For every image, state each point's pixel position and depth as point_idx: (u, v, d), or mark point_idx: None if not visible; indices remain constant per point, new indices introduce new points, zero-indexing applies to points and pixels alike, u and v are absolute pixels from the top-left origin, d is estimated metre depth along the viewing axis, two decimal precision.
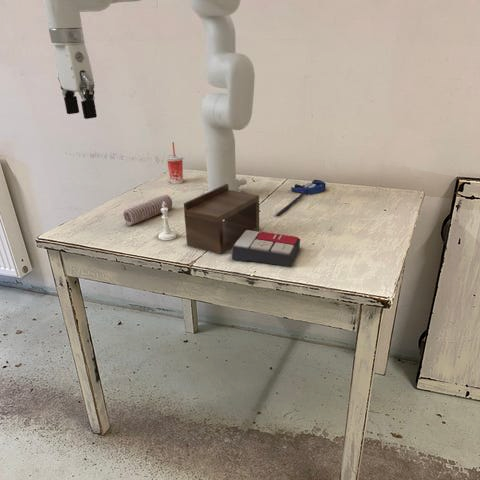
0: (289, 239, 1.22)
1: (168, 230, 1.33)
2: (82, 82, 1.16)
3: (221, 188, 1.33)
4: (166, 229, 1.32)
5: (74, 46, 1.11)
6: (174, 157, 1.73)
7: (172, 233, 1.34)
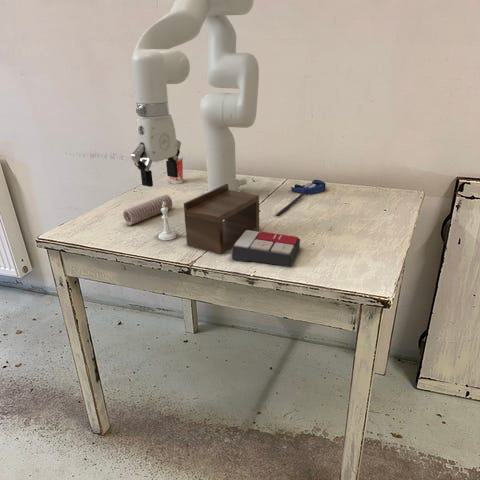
0: (289, 239, 1.22)
1: (168, 230, 1.33)
2: None
3: (221, 188, 1.33)
4: (166, 229, 1.32)
5: (139, 120, 1.15)
6: None
7: (172, 233, 1.34)
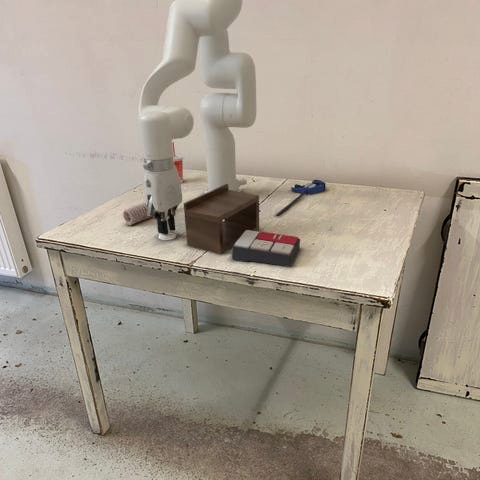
0: (289, 239, 1.22)
1: (168, 230, 1.33)
2: None
3: (221, 188, 1.33)
4: None
5: (146, 174, 1.22)
6: (174, 157, 1.73)
7: (172, 233, 1.34)
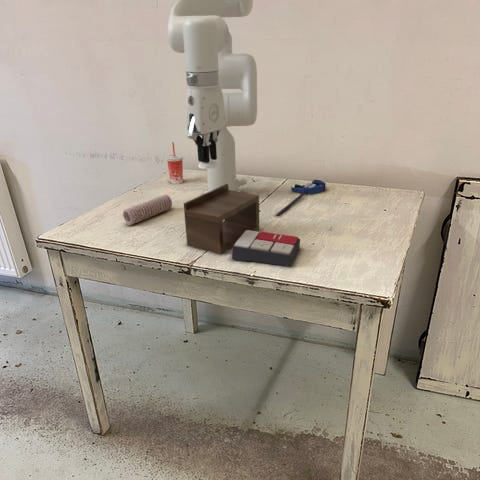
0: (289, 239, 1.22)
1: (209, 158, 1.22)
2: None
3: (221, 188, 1.33)
4: None
5: (189, 90, 1.11)
6: (174, 157, 1.73)
7: (213, 162, 1.22)
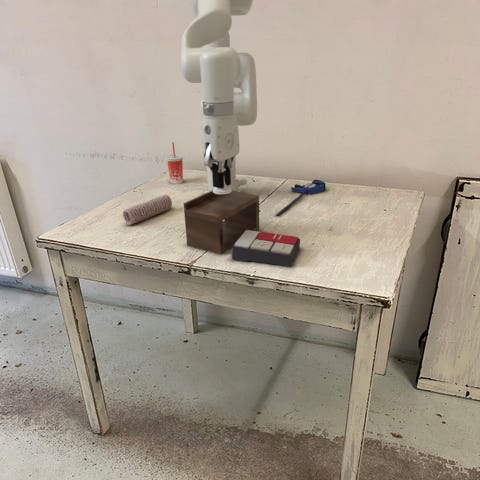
0: (289, 239, 1.22)
1: (224, 184, 1.25)
2: None
3: None
4: None
5: (206, 119, 1.14)
6: (174, 157, 1.73)
7: (228, 187, 1.25)
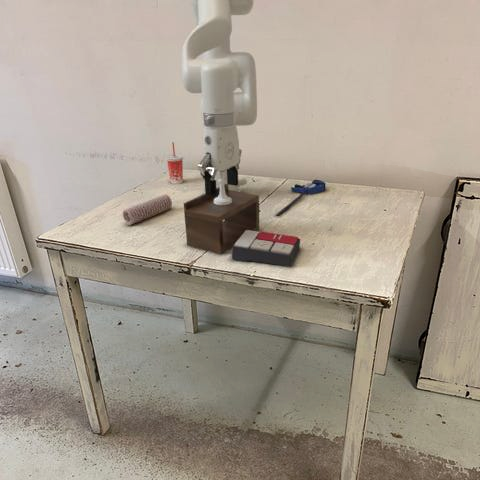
0: (289, 239, 1.22)
1: (224, 194, 1.26)
2: None
3: None
4: (222, 193, 1.26)
5: (206, 130, 1.15)
6: (174, 157, 1.73)
7: (228, 198, 1.27)
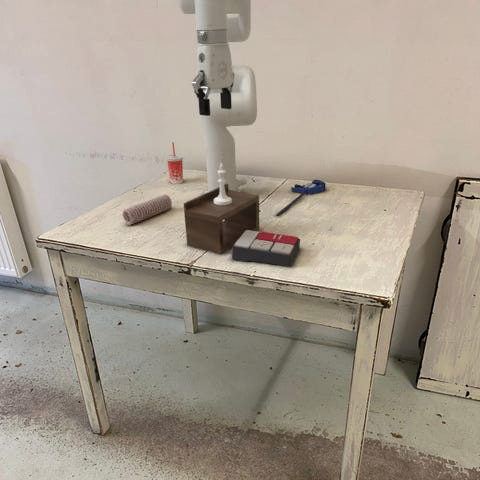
0: (289, 239, 1.22)
1: (224, 194, 1.26)
2: None
3: None
4: (222, 193, 1.26)
5: (200, 47, 1.18)
6: (174, 157, 1.73)
7: (228, 198, 1.27)
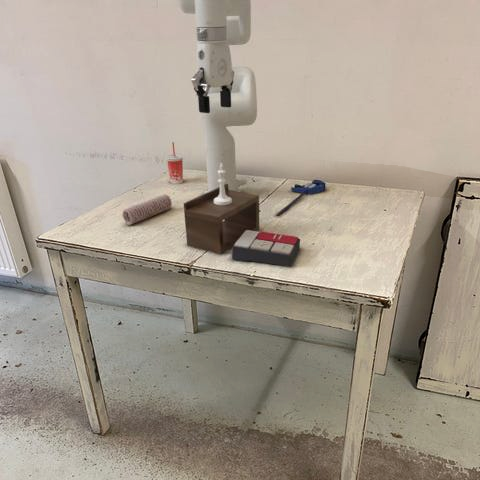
0: (289, 239, 1.22)
1: (224, 194, 1.26)
2: None
3: None
4: (222, 193, 1.26)
5: (199, 44, 1.19)
6: (174, 157, 1.73)
7: (228, 198, 1.27)
